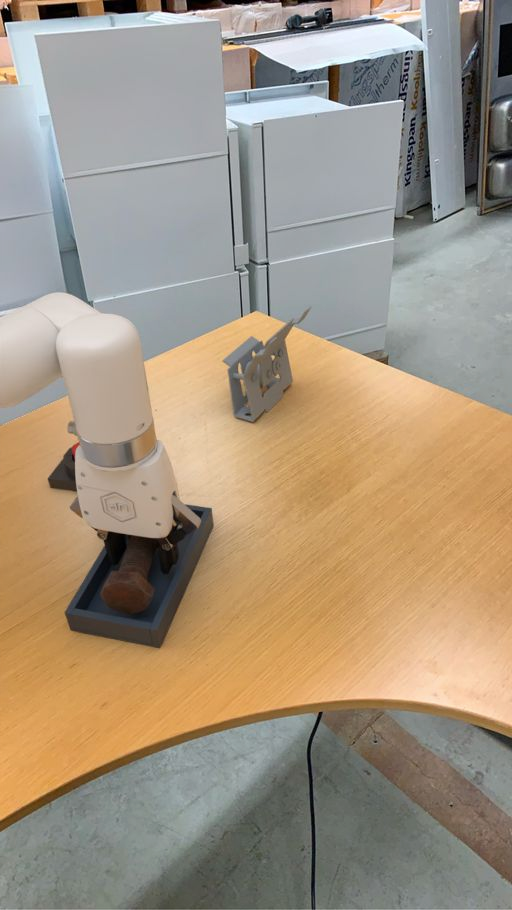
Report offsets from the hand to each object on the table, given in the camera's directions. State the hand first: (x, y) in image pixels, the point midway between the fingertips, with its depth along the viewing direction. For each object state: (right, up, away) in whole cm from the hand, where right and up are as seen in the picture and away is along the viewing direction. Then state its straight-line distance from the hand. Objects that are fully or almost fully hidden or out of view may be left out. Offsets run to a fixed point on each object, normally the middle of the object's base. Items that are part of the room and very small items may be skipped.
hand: (144, 559), depth 77 cm
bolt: (0, -1, 0) cm, 1 cm away
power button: (-10, +12, +15) cm, 22 cm away
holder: (0, -2, +1) cm, 2 cm away
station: (-10, +10, +17) cm, 22 cm away
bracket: (+15, +21, +30) cm, 39 cm away
